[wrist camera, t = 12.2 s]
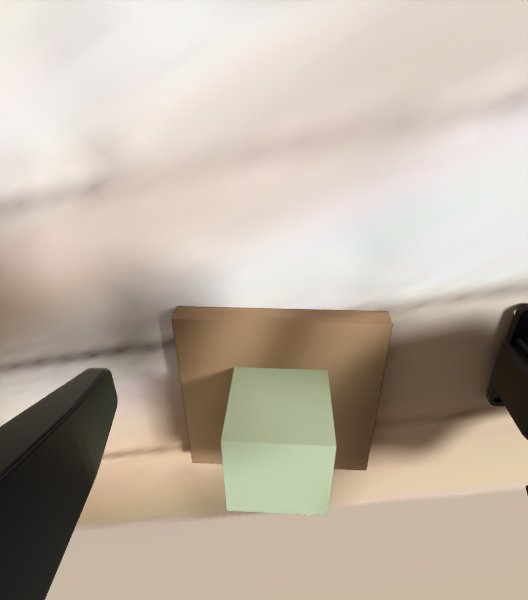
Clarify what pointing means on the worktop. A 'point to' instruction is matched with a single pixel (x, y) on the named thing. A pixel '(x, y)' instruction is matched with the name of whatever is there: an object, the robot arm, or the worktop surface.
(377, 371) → the walnut board
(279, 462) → the sage cube
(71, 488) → the robot arm
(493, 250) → the worktop surface
